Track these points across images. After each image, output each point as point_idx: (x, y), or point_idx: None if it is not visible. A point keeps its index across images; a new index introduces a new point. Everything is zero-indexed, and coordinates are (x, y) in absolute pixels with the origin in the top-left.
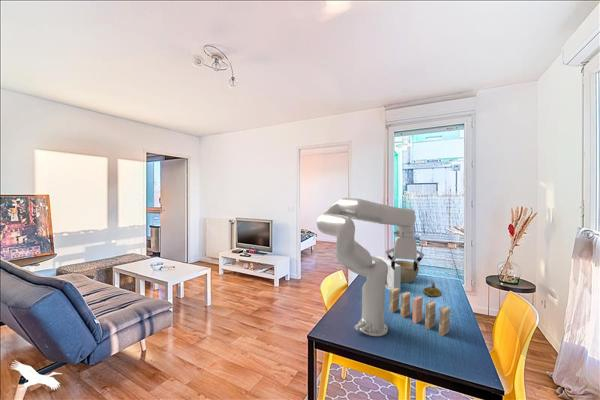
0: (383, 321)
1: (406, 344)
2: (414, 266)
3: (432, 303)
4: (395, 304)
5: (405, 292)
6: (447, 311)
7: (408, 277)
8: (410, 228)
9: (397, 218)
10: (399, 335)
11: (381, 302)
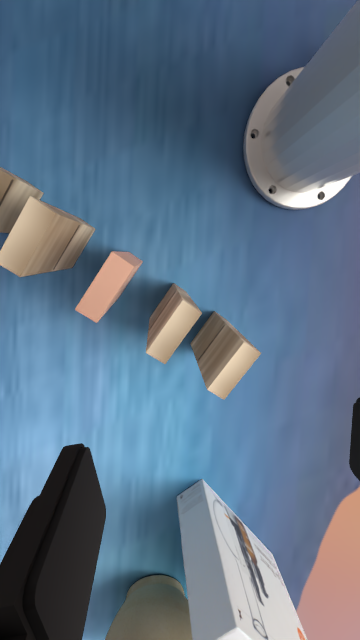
0: (281, 103)
1: (173, 55)
2: (69, 520)
3: (13, 230)
4: (210, 334)
5: (175, 346)
6: None
7: (143, 602)
8: None
9: None
10: (197, 124)
11: None
